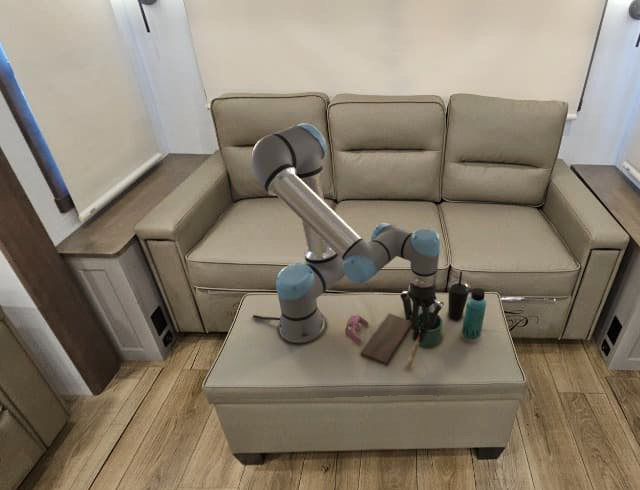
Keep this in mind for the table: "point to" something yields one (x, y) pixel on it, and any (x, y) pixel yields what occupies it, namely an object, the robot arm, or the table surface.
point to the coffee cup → (431, 331)
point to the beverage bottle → (474, 314)
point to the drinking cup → (457, 297)
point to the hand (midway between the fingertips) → (419, 338)
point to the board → (387, 339)
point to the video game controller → (354, 327)
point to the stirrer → (413, 352)
